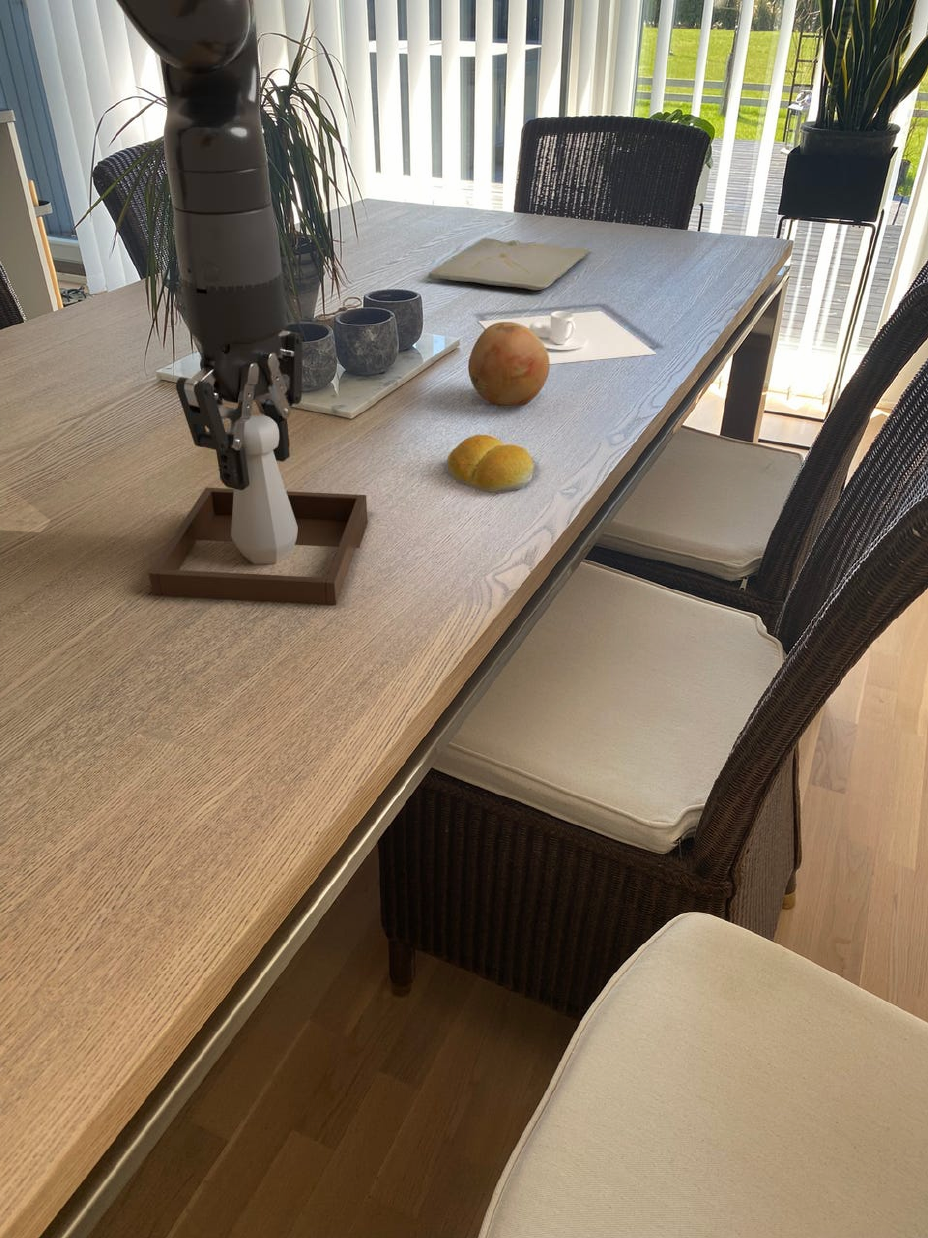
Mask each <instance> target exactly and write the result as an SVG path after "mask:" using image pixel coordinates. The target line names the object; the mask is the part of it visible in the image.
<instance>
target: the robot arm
mask: <svg viewBox="0 0 928 1238" xmlns="http://www.w3.org/2000/svg"><path fill="white" fill-rule="evenodd" d="M115 1H116V3H117V5H118V7H120V9H121V10H122V12H123V13H124V15H125V16H126V18H127V19H128V20H129V22H130V24H131V25H132V26H133V28H134V29H135V30H136V31H137V34H139V35H140V37H141V38H142V39H143V40H144V42H145V43H146V44H147V45H148V46H149V48H151V49H152V51H153V52H154V53H155V54H156V55H157V56H159V62H160V68H161V75H162V82H163V89H164V96H165V103H166V118H165V123H164V127H163V149H164V158H165V166H166V172H167V178H168V184H169V185H168V186H169V191H170V197H171V204H172V210H173V235H174V236H173V237H174V245H175V251H176V252H175V253H176V258H177V265H178V270H179V277H180V282H181V289H182V295H183V302H184V307H185V313H186V320H187V326H188V330H189V332H190V333H191V334H192V335H193V337H195V338H196V340H197V341H198V342H199V344H200V346H201V359H200V364H199V365H200V370H199V371H198V372H197V373H196V374H194V375H193V376H192V377H191V378H189V377H188V378H186V377H179V378H178V379H177V380H176V383H175V389H176V392H177V395H178V398H179V401H180V404H181V408H182V410H183V414H184V416H185V420H186V423H187V426H188V429H189V432H190V435H191V438H192V440H193V443H194V446H196V447H199V448H206V449H211V450H215V452H216V453H215V454H216V459H217V466H218V471H219V472H218V473H219V478H220V481H221V483H222V484H223V485H224V486H225V487H226V488H228V489H237V490H244V489H245V488H247V487H248V486H249V484H250V482H249V475H248V468H247V460H246V453H245V447H243V446H242V445H243V437H244V428H245V422H246V421H248V420H250V418H251V414H253V413H252V411H253V402H255V405H256V407H257V409H258V411H259V413H260V415H265V416H268V417H270V418H271V419H273V420H274V421H275V422H276V423H277V426H278V429H279V443H278V447H276V448H275V449H273V452H274V455H275V458H276V462H285V461H286V460H288V459H289V458H290V455H291V453H290V436H289V425H288V419H289V418H290V416H291V413H292V406H293V405H299V404H300V403H301V401H302V398H303V397H302V395H303V394H302V393H303V392H302V391H303V390H302V389H303V387H302V386H303V335H302V333H300V332H294V331H288V330H285V329H286V328H287V324H288V317H287V307H286V298H285V287H284V276H283V269H282V267H283V266H282V258H281V249H280V248H281V247H280V240H279V239H280V238H279V231H278V227H277V222H276V219H275V215H274V210H273V202H272V195H271V194H272V193H271V183H270V175H269V174H270V173H269V165H268V155H267V149H266V148H267V147H266V143H265V137H264V132H263V127H262V120H261V104H260V103H261V102H260V101H261V95H260V94H261V92H260V61H259V40H258V29H257V28H258V27H257V15H256V7H255V2H254V1H255V0H115ZM284 375H286V376H288V379H289V381H288V383H289V386H288V387H287V384H286V382H285V379H284ZM223 401H225V402H229V403H234V404H237V406H236V407H235V408H234V407H228V406H226V405H224V403H223ZM226 419H229V420H230V422H231V429H230V433H228V432H226V429H225V423H226ZM207 429H208V431H207Z"/></svg>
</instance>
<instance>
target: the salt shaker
mask: <svg viewBox="0 0 928 1238" xmlns="http://www.w3.org/2000/svg"><path fill="white" fill-rule="evenodd" d="M230 429H231V421H230V422H229V423H228V424H227V426H226V429H225V431H226V432H228V433H230ZM278 443H279V429H278V426H277V423H276V422H275V421H274V420H273V419H271V418H270V417H268V416H265V415H264V414H258V413H257V414H256V413H251V418H250V420H248V421H246V422H245V428H244V437H243V445H242V446H243V447H245V453H246V460H247V468H248V475H249V482H250V484H249V486H248V487H247V488H245V489H244V490H237V489H234V494H233V511H232V528H231V537H232V540H233V542H232V543H233V544H234V545H235V546H236V548H237V549H238V551H239V552H240V553H241V555H242V556H243V557H244V558H245V559H247V560H248V562H251V563H252V564H254V565H273V564H275V565H276V564H279V563H280V562H282V561H283V560H285V559H287V558H288V557H290V556H291V555H292V554H293V550H294V548H295V546H296V545H295V542H296V539H297V531H298V526H297V523H296V520H295V517H294V514H293V511H292V508H291V505H290V502H289V499H288V496H287V492H286V491H287V490H286V486H285V483H284V480H283V477H282V474H281V471H280V467H279V465H278V461H277V460H276V458H275V455H274V452H273V449H275V448H276V447H278Z"/></svg>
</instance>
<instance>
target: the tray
mask: <svg viewBox="0 0 928 1238" xmlns="http://www.w3.org/2000/svg"><path fill="white" fill-rule="evenodd" d="M286 492H287V496H288V499H289V502H290V505H291V508H292V511H293V514H294V517H295V520H296V523H297V526H298V531H297V539H296V542H295V545H294V546H309V547H327V548H328V547H329V548H337V550H336V552H335V555H334V558H333V560H332V564H331V566H330V569H329V571H328V574H327V577H318V576H317V577H316V576H300V575H281V574H280V575H279V574H263V573H262V574H261V573H260V574H259V573H245V572H244V573H241V572H222V571H205V570H204V571H202V570H183V569H180V568H181V566H182V565H183V563H184V562H185V560H186V559H187V557H188V555H189V554H190V552H191V551H192V548H193V547H194V546H195V544H196V543H197V541H208V542H227V543H229V542H230V543H234V542H233V540H232V537H231V528H232V511H233V494H234V489H233V488H227V487H225V488H222V487H205V488H204V490H203V491H202V492H201V494H200V496H199V497H198V498H197V499H196V501H195V503H194V504H193V506H192V507H191V509H190V511H189V512H188V513H187V515H186V516H185V518H184V520H183V521H182V523H181V524H180V526H179V527H178V529H177V530H176V531H175V532H174V535H173V536H172V537H171V539H170V541H168V543H167V545H166V546H165V547H164V549H163V551H162V553H161V554H160V555H159V556H158V558H157V560H156V561H155V562H154V564H153V566H152V567H151V569H150V570H149V572H148V578H149V583H150V588H151V593H152V596H153V597H170V598H171V597H172V598H190V599H208V600H209V599H210V600H226V601H227V600H228V601H245V602H262V603H263V602H264V603H266V602H267V603H282V604H283V603H284V604H300V605H301V604H302V605H320V606H321V605H322V606H337V605H338V602H339V599H340V596H341V593H342V590H343V587H344V585H345V582H346V579H347V576H348V573H349V570H350V567H351V564H352V562H353V558H354V556H355V552H356V550H357V549H360V547H361V544H362V542H363V539H364V535H365V532H366V529H367V527H368V524H369V519H368V505H367V504H368V503H367V495H366V494H351V493H332V492H313V491H311V492H310V491H291V490H290V491H287V490H286Z"/></svg>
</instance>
